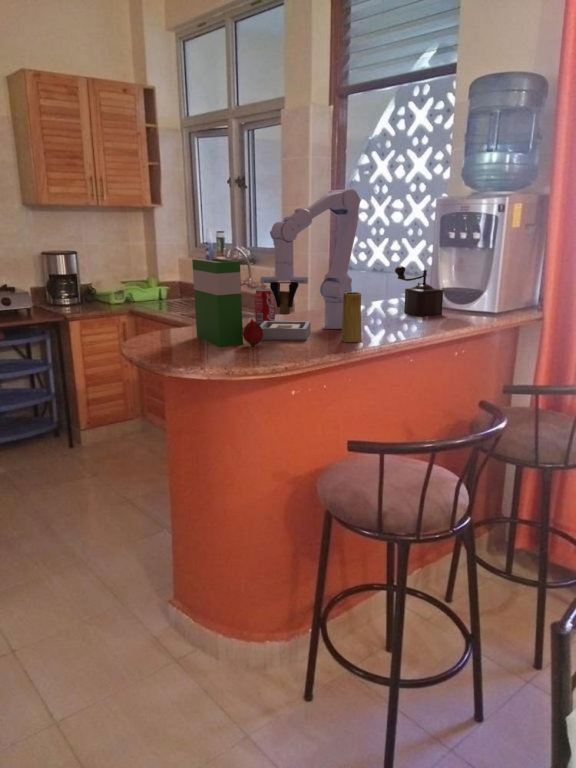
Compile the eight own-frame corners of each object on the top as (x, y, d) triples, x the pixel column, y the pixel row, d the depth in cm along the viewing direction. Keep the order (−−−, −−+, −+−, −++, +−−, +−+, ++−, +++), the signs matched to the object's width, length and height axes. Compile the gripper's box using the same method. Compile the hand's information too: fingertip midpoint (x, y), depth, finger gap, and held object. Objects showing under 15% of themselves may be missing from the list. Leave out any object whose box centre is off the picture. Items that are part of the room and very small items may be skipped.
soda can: (276, 322, 202) (275, 288, 198) (273, 325, 195) (273, 290, 192) (256, 322, 202) (255, 288, 199) (253, 325, 196) (252, 290, 192)
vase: (348, 344, 165) (349, 295, 161) (337, 340, 170) (337, 292, 166) (365, 341, 168) (366, 293, 164) (354, 338, 173) (354, 291, 169)
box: (310, 332, 183) (310, 321, 182) (306, 340, 170) (306, 328, 169) (264, 331, 185) (264, 320, 184) (257, 340, 172) (256, 328, 171)
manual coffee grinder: (424, 310, 221) (427, 264, 216) (442, 314, 211) (445, 266, 206) (391, 314, 215) (392, 265, 210) (407, 318, 205) (410, 268, 200)
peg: (290, 313, 178) (290, 290, 176) (289, 314, 175) (289, 291, 173) (280, 313, 178) (280, 290, 177) (278, 314, 175) (278, 291, 173)
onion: (266, 344, 166) (265, 317, 164) (259, 348, 161) (258, 320, 158) (248, 343, 168) (247, 316, 165) (240, 347, 162) (239, 320, 160)
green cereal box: (197, 337, 178) (192, 259, 171) (218, 334, 181) (214, 258, 175) (220, 347, 163) (216, 262, 157) (243, 344, 167) (240, 261, 160)
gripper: (258, 263, 169) (259, 308, 173) (306, 263, 167) (306, 309, 171) (262, 261, 176) (263, 305, 180) (308, 261, 174) (308, 305, 178)
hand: (284, 307), depth 176 cm, fingers closed on peg, 3 cm apart
